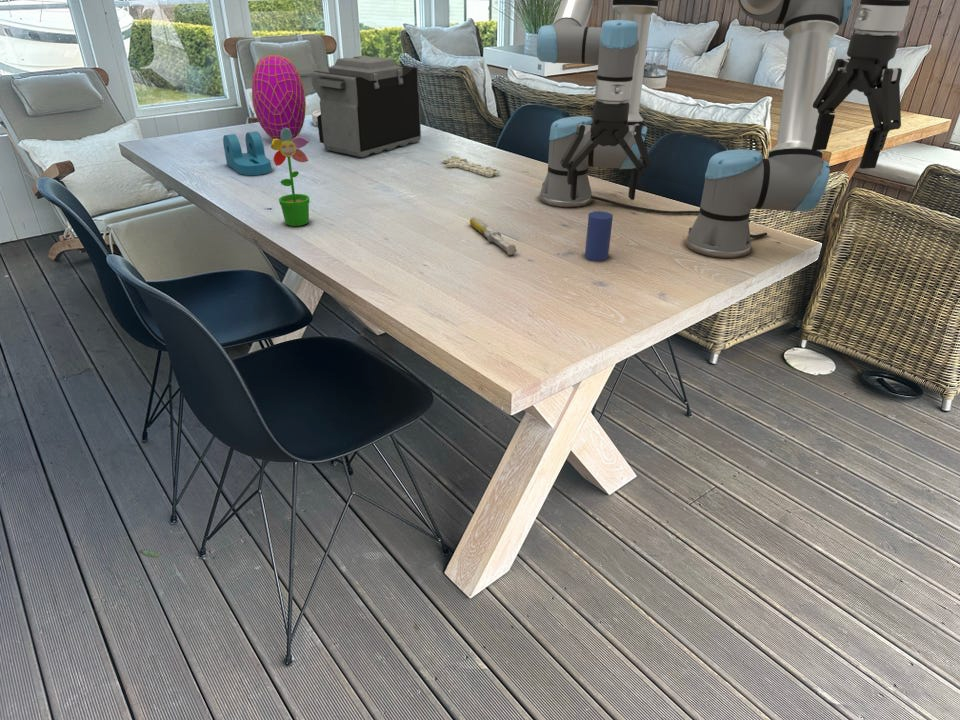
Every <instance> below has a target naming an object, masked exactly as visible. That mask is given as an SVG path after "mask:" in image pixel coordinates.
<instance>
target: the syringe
mask: <svg viewBox="0 0 960 720" xmlns="http://www.w3.org/2000/svg"><path fill="white" fill-rule="evenodd" d="M469 224H470V226H471V227H472V228H474V230H476V231H477V232H479V233H480V234H481V235H482V236H484V237H485V238H486V239H487V241H488V243H494V244H496V245H497V246H498V247H500V248H501V249H502V250H503V251H504V252H506V253H507V255H508V256H512V255H515V253H517V251H518V250H517V247H516V245H515V244H511V243H510V242H509V241H507V240H506V239H504V238H503V237H502V234H501V233H500V232H499V231H495V230H494V229H493V228H491V227H490V226H489V225H487V224H486V223H485V222H483V221H482V220H481V219H480V218H479V217H477V216H472V217H470V220H469Z"/></svg>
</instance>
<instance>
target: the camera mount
mask: <svg viewBox="0 0 960 720" xmlns="http://www.w3.org/2000/svg"><path fill="white" fill-rule="evenodd" d="M222 140H223V141H222V143H223V149H224V150H223V151H224V156H225V161H226V165H227V166H228V167H230V168H231V169H232V170H234V171H236V172H237V173H238V174H239V175H244V176H260V175H265V174H268V173H271V172H272V164H271V159H270V158H268V157H267V156H266V153H265V145H264V141H263V139H262V136H261V134H260V132H258V131H247V132H246V133H245V146H246V152H243V151H242V150H243V149H242V146H241V142H240V140H239V138H238V135H236V134H235V133H231V134H224V135H223V138H222Z"/></svg>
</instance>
